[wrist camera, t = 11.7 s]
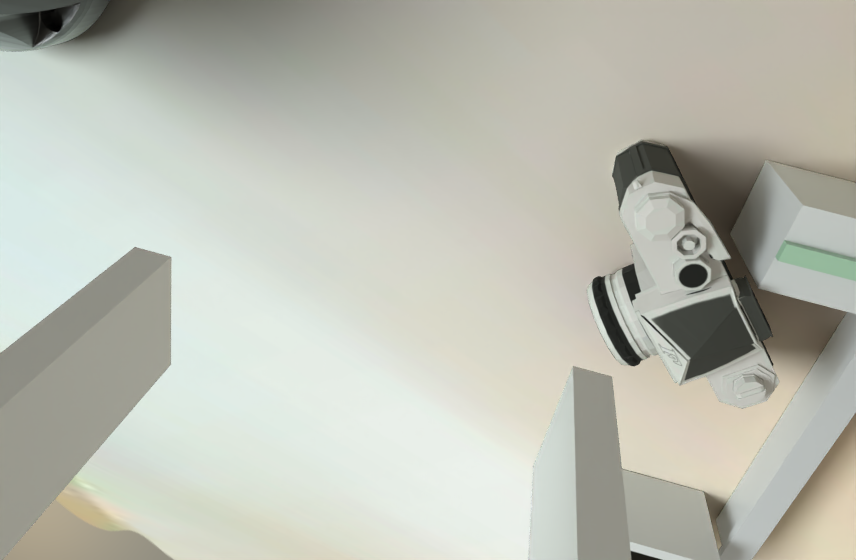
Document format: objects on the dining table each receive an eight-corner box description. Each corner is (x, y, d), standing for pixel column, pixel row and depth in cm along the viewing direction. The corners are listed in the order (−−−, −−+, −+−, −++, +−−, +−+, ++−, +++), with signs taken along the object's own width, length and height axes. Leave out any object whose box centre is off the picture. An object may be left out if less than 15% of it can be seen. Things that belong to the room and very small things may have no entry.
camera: (537, 184, 43) (531, 254, 34) (668, 117, 39) (697, 176, 31) (643, 368, 48) (661, 468, 39) (767, 323, 45) (816, 422, 36)
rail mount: (595, 509, 55) (599, 589, 49) (766, 160, 39) (806, 209, 33) (721, 545, 55) (742, 630, 48) (944, 204, 39) (1021, 263, 32)
